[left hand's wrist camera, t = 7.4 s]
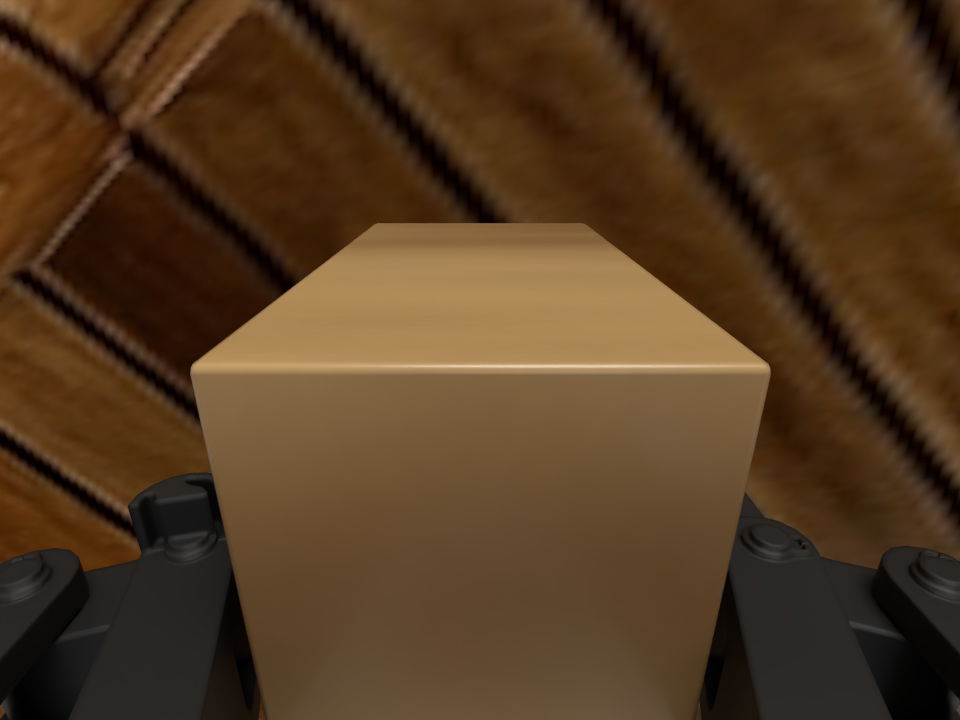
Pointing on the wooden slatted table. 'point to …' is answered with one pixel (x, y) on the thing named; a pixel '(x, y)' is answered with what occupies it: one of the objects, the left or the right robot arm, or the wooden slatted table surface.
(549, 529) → the bar
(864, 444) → the wooden slatted table surface
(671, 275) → the wooden slatted table surface
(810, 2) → the wooden slatted table surface
